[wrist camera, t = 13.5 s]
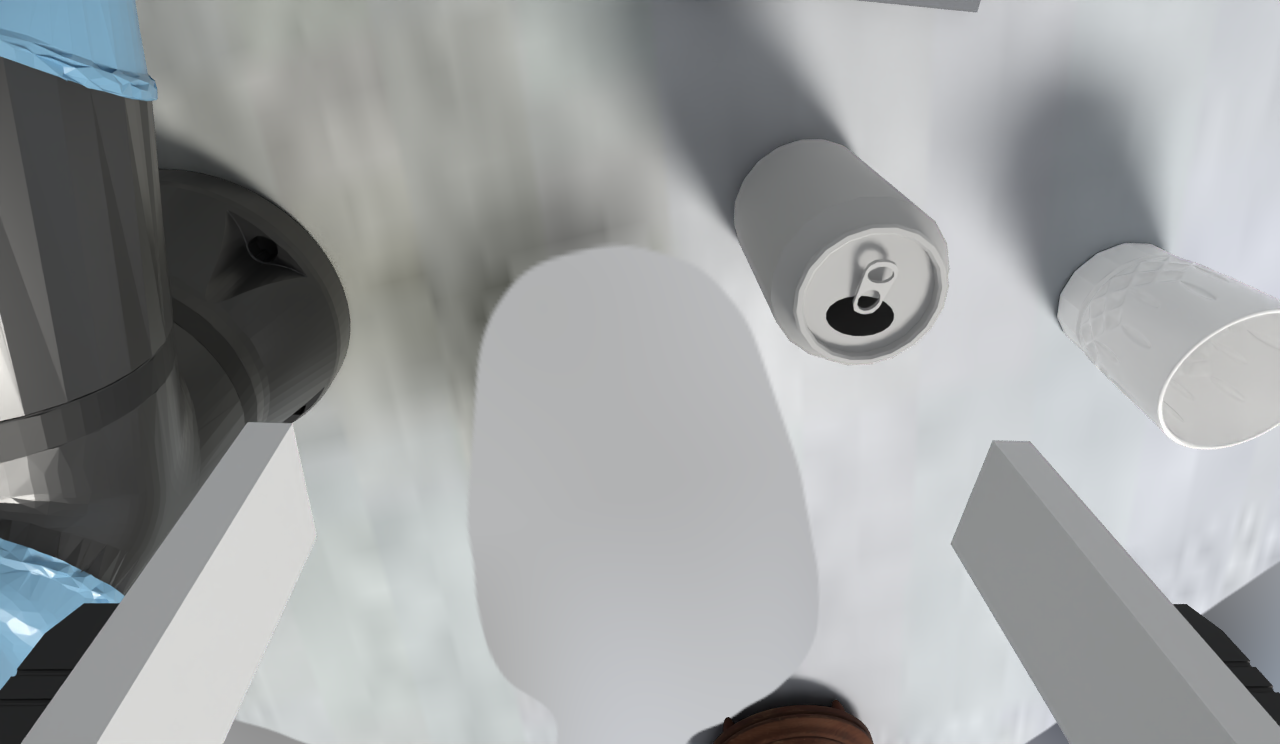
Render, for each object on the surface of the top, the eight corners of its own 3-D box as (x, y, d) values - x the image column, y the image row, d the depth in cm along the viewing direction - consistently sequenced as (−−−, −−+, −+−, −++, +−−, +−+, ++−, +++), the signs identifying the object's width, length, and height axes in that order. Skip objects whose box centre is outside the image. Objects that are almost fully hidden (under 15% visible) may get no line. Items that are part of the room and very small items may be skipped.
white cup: (1095, 216, 40) (1232, 291, 31) (1210, 249, 41) (1371, 330, 33) (1020, 337, 44) (1124, 433, 35) (1128, 364, 45) (1253, 462, 37)
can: (717, 260, 40) (759, 371, 30) (748, 124, 36) (808, 196, 26) (844, 277, 41) (927, 390, 31) (887, 145, 37) (998, 224, 27)
